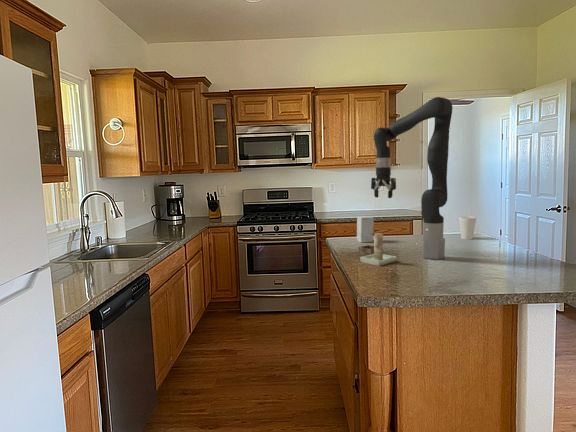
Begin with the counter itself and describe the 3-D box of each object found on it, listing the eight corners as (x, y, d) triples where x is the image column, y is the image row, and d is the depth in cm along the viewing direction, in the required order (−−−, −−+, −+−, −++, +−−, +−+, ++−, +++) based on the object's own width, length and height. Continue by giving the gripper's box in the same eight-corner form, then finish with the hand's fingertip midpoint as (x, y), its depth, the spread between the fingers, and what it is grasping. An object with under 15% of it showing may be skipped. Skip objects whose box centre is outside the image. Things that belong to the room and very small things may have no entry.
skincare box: (361, 242, 237) (361, 217, 235) (356, 241, 243) (356, 216, 241) (373, 241, 240) (374, 216, 238) (368, 240, 245) (369, 215, 244)
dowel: (381, 258, 193) (381, 233, 192) (384, 260, 189) (384, 234, 188) (372, 258, 192) (373, 233, 191) (375, 260, 189) (375, 235, 187)
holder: (381, 253, 207) (381, 247, 206) (371, 256, 201) (371, 249, 201) (368, 251, 213) (369, 245, 212) (358, 253, 208) (358, 247, 207)
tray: (396, 261, 191) (396, 256, 190) (379, 265, 183) (379, 261, 182) (377, 257, 199) (377, 252, 199) (360, 261, 191) (360, 257, 191)
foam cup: (460, 239, 241) (461, 218, 239) (456, 237, 250) (457, 216, 248) (477, 239, 239) (478, 218, 238) (473, 237, 248) (473, 216, 247)
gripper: (367, 167, 215) (367, 197, 216) (390, 166, 204) (390, 198, 206) (376, 166, 219) (376, 196, 221) (399, 166, 208) (398, 197, 210)
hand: (383, 197), depth 213 cm, fingers open, 8 cm apart
